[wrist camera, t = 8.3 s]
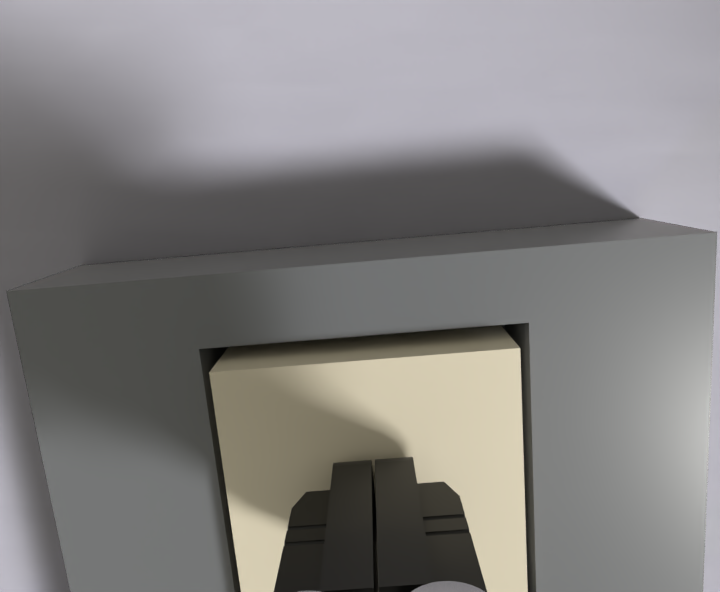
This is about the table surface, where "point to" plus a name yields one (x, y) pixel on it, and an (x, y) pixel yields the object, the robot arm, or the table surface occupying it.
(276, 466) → the beige key
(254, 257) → the keypad
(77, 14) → the table surface
